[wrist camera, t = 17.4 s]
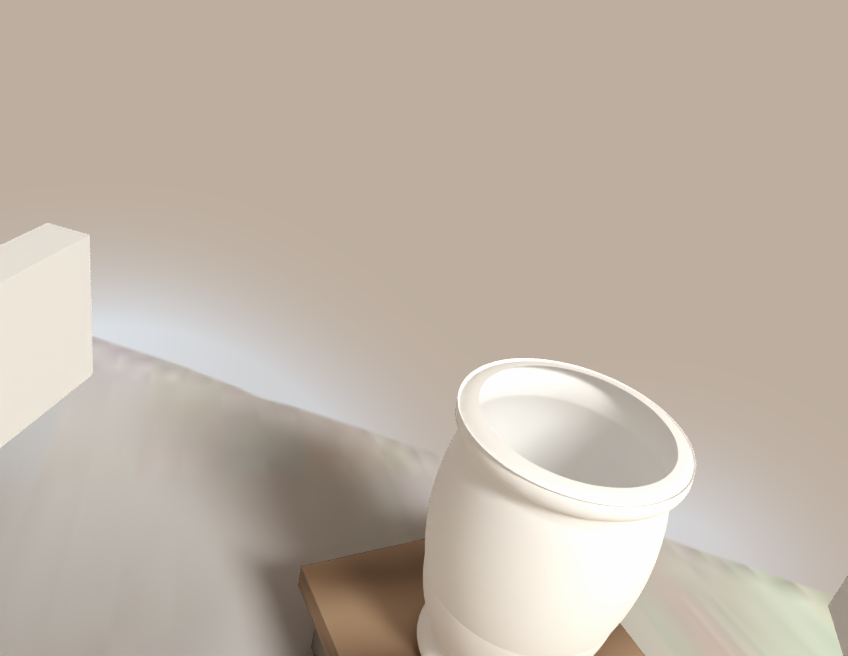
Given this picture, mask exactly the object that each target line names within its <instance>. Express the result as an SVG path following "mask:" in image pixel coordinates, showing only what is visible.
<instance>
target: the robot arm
mask: <svg viewBox="0 0 848 656" xmlns="http://www.w3.org/2000/svg"><path fill="white" fill-rule="evenodd" d="M90 273H91V272H90V235H88V234H84V233H81V232H78V231H74V230H71V229H68V228H64V227H60V226H57V225H54V224H50V223H46V224H44V225H42V226H40V227H38V228H36V229H34V230H31V231H29V232H27V233H25V234H23V235H21V236H19V237H17V238H14V239H12V240H10V241H8V242H6V243H4V244H2V245H0V448H1V447H2V446H3V445H4V444H6V443H7V442H8V441H9V440H11V439H12V438H13V437H14V436H16V435H17V434H18V433H19V432H21V431H22V430H23V429H24V428H26V427H27V426H28V425H30V424H31V423H32V422H33V421H35V420H36V419H37V418H38V417H40V416H41V415H42V414H43V413H45V412H46V411H47V410H48V409H50V408H51V407H52V406H53V405H55V404H56V403H57V402H58V401H60V400H61V399H62V398H63V397H65V396H66V395H67V394H69V393H70V392H71V391H72V390H74V389H75V388H76V387H77V386H79V385H80V384H81V383H82V382H84V381H85V380H86V379H87V378H89V377H90V376H91V375H92V374H93V360H92V318H91V274H90ZM828 607H829V610H830V613H831V617H832V620H833V623H834V626H835V630H836V633H837V636H838V639H839V643H840V646H841V649H842V653H843V656H848V576H847V578H846V579H845V581H844V582H843V584H842V585H841V587H840V588H839V590H838V592H837V593H836V595H835V596H834V598H833V599H832V601H831V602H830V604H829V605H828Z"/></svg>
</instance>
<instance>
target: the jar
mask: <svg viewBox="0 0 848 656" xmlns="http://www.w3.org/2000/svg"><path fill="white" fill-rule="evenodd" d="M455 415H456V423H457V427H458V430H457V431H456V433H455V435H454V437H453V438H452V440H451V443H450V444H449V447H448V448H447V451H446V453H445V455H444V457H443V460H442V462H441V465H440V467H439V470H438V473H437V476H436V479H435V482H434V485H433V489H432V493H431V497H430V501H429V507H428V513H427V520H426V531H425V556H424V565H423V592H424V599H425V604H424V606H423V608H422V610H421V612H420V615H419V618H418V623H417V642H418V647H419V651H420V654H421V656H594V654H595V653H596V652H597V651H598V650H599V649H600V647H601V646H602V645H603V644H604V642H605V641H606V639H607V638H608V636H609V635H610V633H611V632H612V631H613V630H614V629H615V628H616V627H617V626H618V624H619V623H620V622H621V621H622V620H623V618H624V617H625V616H626V614H627V613H628V612H629V610H630V609H631V608H632V606H633V605H634V603H635V602H636V600H637V598H638V597H639V595H640V593H641V592H642V590H643V588H644V586H645V584H646V582H647V580H648V578H649V576H650V574H651V572H652V570H653V567H654V565H655V562H656V559H657V557H658V554H659V551H660V548H661V545H662V541H663V538H664V534H665V530H666V525H667V521H668V515H669V510H671V509H673V508H674V507H676V506H677V505H678V504H679V503H680V502H681V501H682V500H683V499H684V498H685V497H686V495H687V494H688V492H689V490H690V488H691V485H692V483H693V479H694V475H695V472H696V457H695V453H694V450H693V447H692V445H691V443H690V441H689V439H688V437H687V436H686V434H685V433H684V431H683V430H682V429H681V428H680V426H679V425H678V424H677V423H676V422H675V421H674V420H673V418H672V417H671V416H669V415H668V414H667V413H666V412H665V411H664V410H663V409H662V408H660V407H659V406H658V405H657V404H655V403H654V402H652V401H651V400H650V399H648V398H647V397H645V396H644V395H642V394H641V393H639V392H638V391H636V390H634V389H632V388H631V387H629V386H627V385H625V384H623V383H621V382H619V381H617V380H615V379H613V378H610V377H608V376H605V375H603V374H600V373H598V372H595V371H592V370H589V369H586V368H583V367H579V366H576V365H572V364H567V363H563V362H557V361H552V360H545V359H533V358H518V359H506V360H500V361H496V362H492V363H489V364H486V365H484V366H482V367H480V368H478V369H476V370H474V371H473V372H472V373H470V374H469V375H468V376H467V377H466V378H465V380H464V381H463V383H462V384H461V386H460V389H459V392H458V398H457V403H456V409H455Z"/></svg>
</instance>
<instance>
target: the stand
mask: <svg viewBox="0 0 848 656" xmlns="http://www.w3.org/2000/svg"><path fill="white" fill-rule="evenodd" d="M424 556H425V539H422V540H417V541H413V542H408V543H404V544H399V545H395V546H391V547H386V548H382V549H377V550H373V551H368V552H364V553H359V554H355V555H351V556H346V557H342V558H337V559H333V560H328V561H324V562H319V563H315V564H310V565H306V566H302V567H301V572H300V578H299V584H298V586H299V588H300V591H301V593H302V595H303V598H304V600H305V603H306V605H307V608H308V610H309V613H310V615H311V617H312V620H313V622H314V625H315V630H314V635H313V641H312V646H311V648H312V650H313V653H314V655H315V656H421V654H420V651H419V647H418V642H417V623H418V618H419V615H420V612H421V610H422V608H423V606H424V604H425V599H424V592H423V565H424ZM594 656H645V655H644V653H643V652H642V651H641V650H640V648H639V647H638V646H637V645H636V643H635V642H634V641H633V639H632V638H631V637H630V636H629V634H628V633H627V632H626V630H625V629H624V628H623V627H622V625H621V624H620V623H619V624H618V626H617V627H616V628H615V629H614V630H613V631H612V632H611V633H610V635H609V636H608V638H607V639H606V641H605V642H604V644H603V645H602V646H601V647H600V649H599V650H598V651H597V652H596V653H595V654H594Z"/></svg>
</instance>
